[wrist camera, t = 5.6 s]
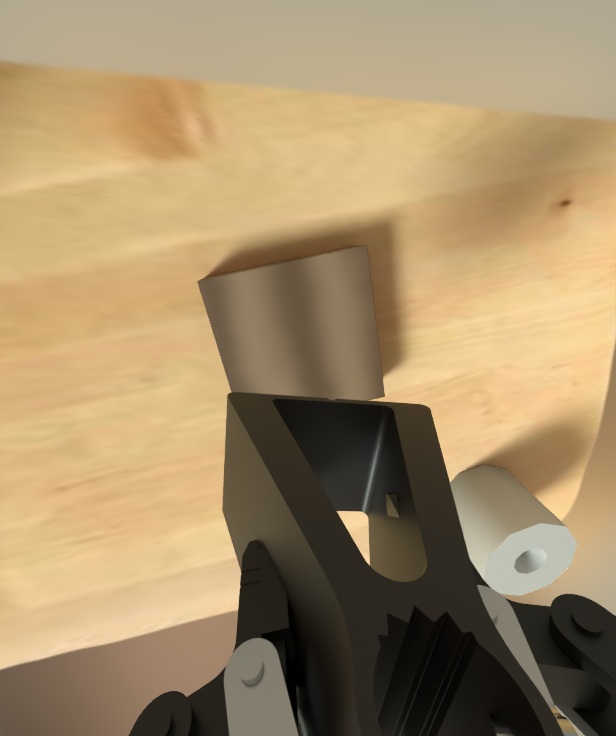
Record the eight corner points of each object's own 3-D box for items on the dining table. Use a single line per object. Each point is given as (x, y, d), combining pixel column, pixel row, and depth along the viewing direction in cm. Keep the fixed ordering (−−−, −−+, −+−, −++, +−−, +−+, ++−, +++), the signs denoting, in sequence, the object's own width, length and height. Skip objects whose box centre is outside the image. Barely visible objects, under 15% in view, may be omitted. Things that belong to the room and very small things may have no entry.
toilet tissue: (434, 554, 42) (474, 627, 34) (444, 468, 37) (493, 529, 29) (500, 545, 43) (554, 613, 35) (519, 459, 38) (586, 516, 30)
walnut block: (245, 413, 32) (243, 429, 29) (204, 277, 27) (197, 281, 24) (374, 383, 32) (384, 396, 30) (356, 245, 28) (366, 245, 25)
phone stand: (426, 404, 15) (858, 842, 4) (398, 507, 17) (634, 990, 6) (228, 390, 14) (58, 970, 3) (222, 503, 16) (109, 1105, 5)
